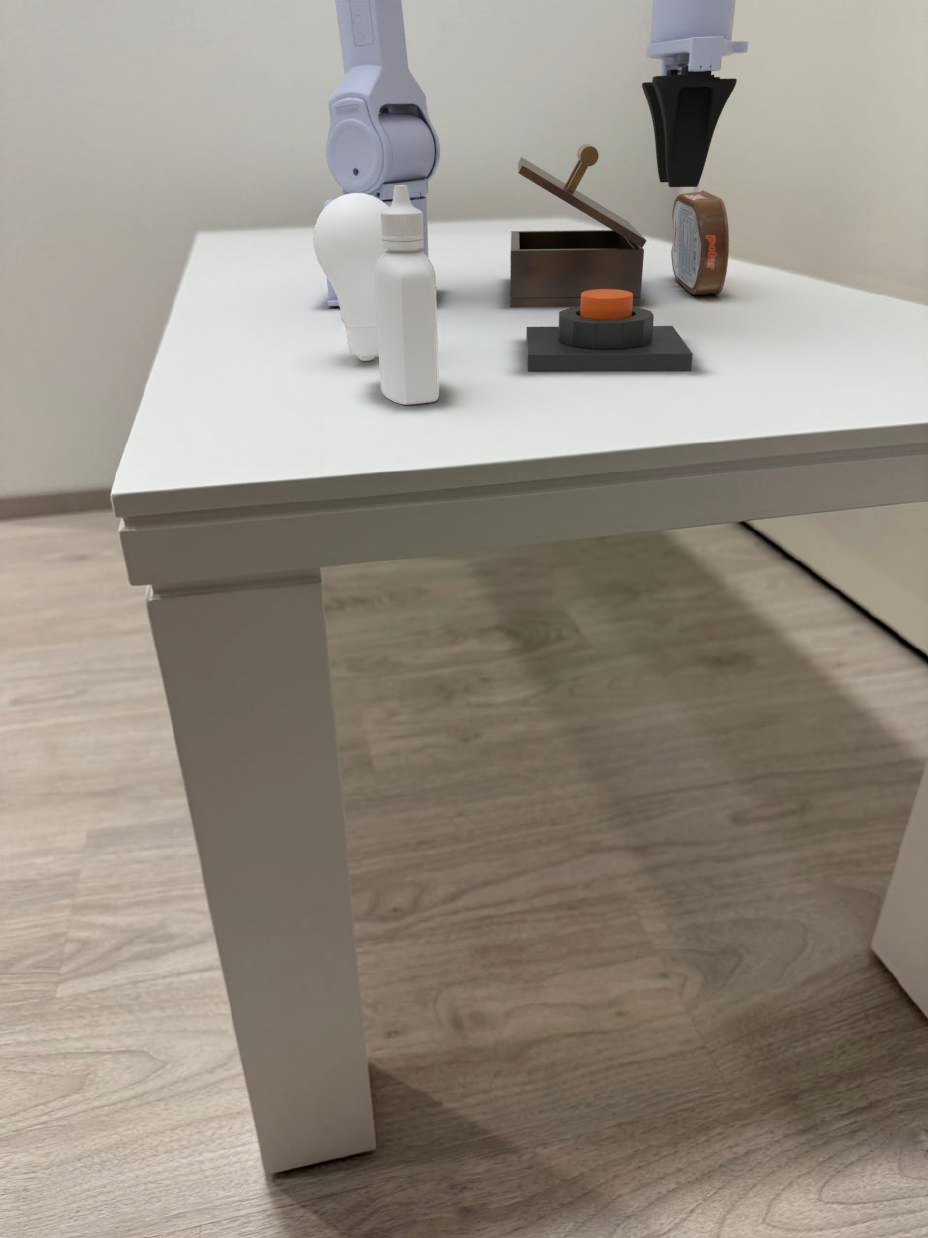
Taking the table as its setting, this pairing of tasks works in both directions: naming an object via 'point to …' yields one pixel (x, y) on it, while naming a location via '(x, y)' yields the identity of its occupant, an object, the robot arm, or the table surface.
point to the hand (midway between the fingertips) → (678, 184)
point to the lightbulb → (353, 264)
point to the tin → (700, 242)
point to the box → (571, 266)
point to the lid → (576, 199)
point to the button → (606, 304)
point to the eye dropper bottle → (406, 307)
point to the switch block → (606, 345)
